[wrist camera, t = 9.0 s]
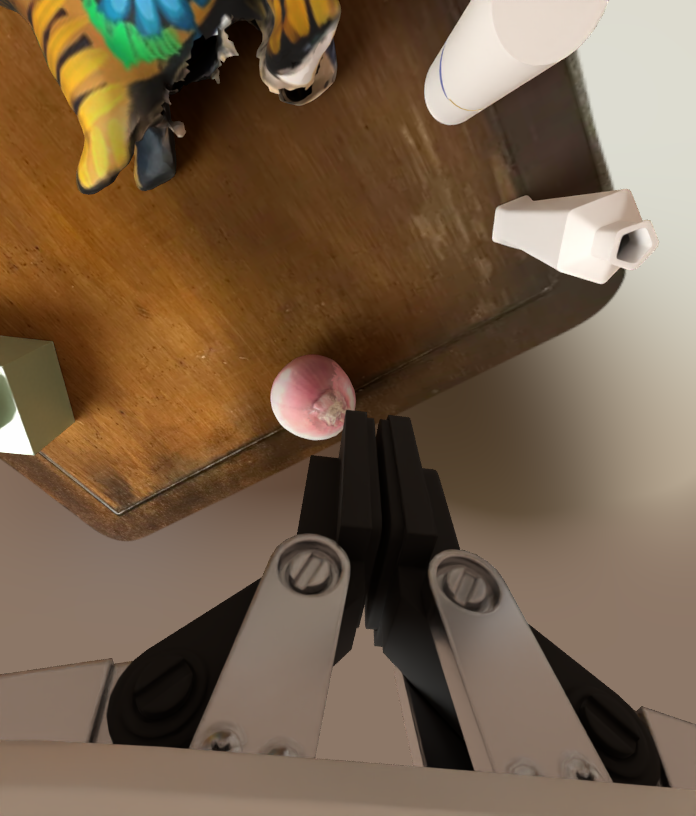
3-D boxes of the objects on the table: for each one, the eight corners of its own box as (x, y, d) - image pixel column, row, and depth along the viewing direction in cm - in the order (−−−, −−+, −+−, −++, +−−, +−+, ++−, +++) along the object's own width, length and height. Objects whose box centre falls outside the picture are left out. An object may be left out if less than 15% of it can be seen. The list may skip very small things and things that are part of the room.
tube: (499, 81, 27) (641, -26, 13) (453, 139, 28) (540, 94, 15) (456, 28, 25) (567, -147, 12) (411, 92, 27) (466, -1, 14)
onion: (365, 406, 39) (367, 447, 33) (295, 426, 41) (284, 468, 34) (339, 334, 36) (336, 365, 29) (263, 359, 37) (245, 393, 31)
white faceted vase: (492, 263, 32) (586, 311, 19) (481, 208, 30) (578, 221, 17) (548, 242, 32) (686, 277, 18) (541, 184, 30) (690, 178, 16)
